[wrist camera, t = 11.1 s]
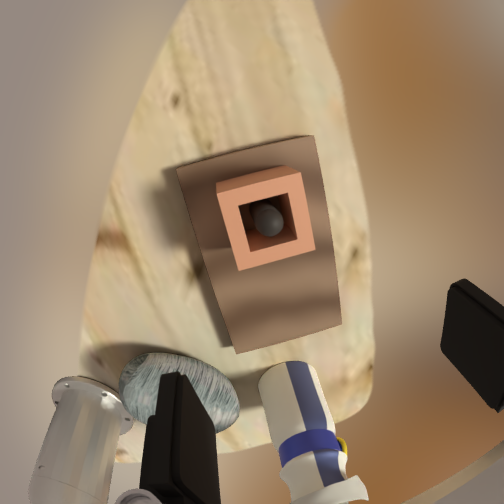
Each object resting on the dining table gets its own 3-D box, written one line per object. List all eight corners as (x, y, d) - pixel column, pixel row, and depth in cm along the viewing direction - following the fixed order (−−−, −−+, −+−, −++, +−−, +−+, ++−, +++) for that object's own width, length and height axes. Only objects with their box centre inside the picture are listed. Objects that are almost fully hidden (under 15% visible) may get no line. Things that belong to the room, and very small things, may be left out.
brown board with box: (337, 317, 34) (363, 358, 27) (235, 345, 34) (241, 394, 27) (308, 135, 26) (340, 136, 19) (177, 167, 26) (164, 179, 19)
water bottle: (330, 358, 36) (412, 535, 13) (307, 403, 39) (361, 560, 16) (267, 354, 35) (322, 564, 11) (250, 401, 37) (283, 578, 14)
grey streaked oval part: (105, 399, 31) (119, 445, 22) (123, 329, 32) (140, 359, 24) (202, 415, 38) (238, 454, 29) (222, 354, 39) (265, 382, 31)
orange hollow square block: (298, 229, 28) (315, 249, 23) (234, 247, 28) (238, 271, 23) (284, 165, 25) (300, 172, 21) (216, 182, 25) (216, 193, 21)
